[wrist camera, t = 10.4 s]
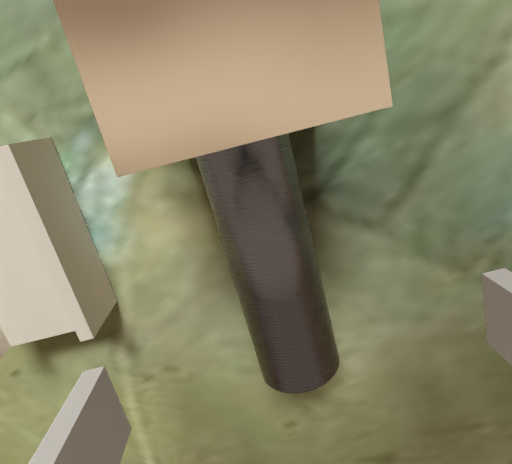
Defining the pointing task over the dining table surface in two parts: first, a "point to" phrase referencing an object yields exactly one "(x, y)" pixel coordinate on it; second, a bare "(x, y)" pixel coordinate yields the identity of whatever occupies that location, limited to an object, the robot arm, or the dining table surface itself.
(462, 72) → the dining table surface
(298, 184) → the axle
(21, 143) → the cradle
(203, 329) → the dining table surface
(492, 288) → the robot arm
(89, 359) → the dining table surface
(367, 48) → the brown wooden block
